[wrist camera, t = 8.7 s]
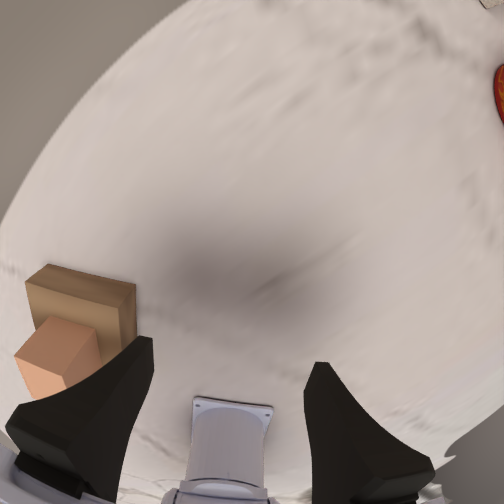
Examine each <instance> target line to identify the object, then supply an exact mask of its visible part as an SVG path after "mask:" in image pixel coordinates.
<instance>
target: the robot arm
mask: <svg viewBox="0 0 504 504" xmlns="http://www.w3.org/2000/svg"><path fill="white" fill-rule="evenodd" d="M153 373H154V359H153V340H152V338H149V337H145V336H140V335H139V336H138V337H137V338H135V339H134V340H133V341H132V342H131V343H130V344H129V345H128V346H127V347H126V348H124V349H123V350H122V351H121V352H120V353H119V354H118V355H116V356H115V357H114V358H113V359H112V360H110V361H109V362H108V363H107V364H105V365H104V366H103V367H101V368H100V369H99V370H97V371H96V372H94V373H93V374H92V375H90V376H89V377H87V378H85V379H84V380H82V381H80V382H79V383H77V384H75V385H73V386H71V387H69V388H67V389H65V390H63V391H61V392H59V393H56V394H54V395H51V396H48V397H45V398H42V399H39V400H36V401H32V402H28V403H24V404H19V405H18V407H17V408H16V409H15V411H14V412H13V414H12V415H11V417H10V419H9V420H8V422H7V423H6V425H5V428H6V431H7V433H8V435H9V436H10V438H11V439H12V440H13V442H14V443H15V444H16V445H17V447H18V448H19V449H20V453H19V455H17V454H15V453H14V452H13V451H12V450H10V449H8V448H7V447H6V446H4V445H2V444H1V443H0V502H2V503H3V504H116V499H117V492H118V486H119V480H120V475H121V470H122V465H123V461H124V457H125V453H126V449H127V445H128V441H129V437H130V434H131V431H132V428H133V426H134V423H135V421H136V419H137V416H138V414H139V411H140V409H141V407H142V404H143V402H144V400H145V397H146V395H147V393H148V390H149V387H150V384H151V380H152V377H153ZM273 413H274V409H273V408H272V407H266V406H256V405H247V404H239V403H232V402H225V401H218V400H212V399H206V398H200V397H196V398H194V401H193V415H192V433H191V443H192V444H191V449H190V455H189V460H188V465H187V471H186V476H185V481H183V480H181V482H180V488H179V489H176V488H172V489H171V490H170V491H168V492H167V493H165V495H164V497H163V499H162V502H161V504H280V503H279V502H278V501H276V499H275V498H273V497H269V498H267V488H264V436H265V433H266V431H267V428H268V425H269V423H270V420H271V418H272V415H273ZM304 413H305V419H306V425H307V431H308V437H309V442H310V448H311V456H312V504H416V500H418V499H419V496H418V491H419V490H421V489H422V488H423V487H425V486H426V485H427V484H428V483H429V482H430V481H431V480H432V479H433V478H434V477H435V470H434V467H433V465H432V462H431V460H430V458H429V457H428V456H426V455H424V454H422V453H420V452H418V451H416V450H414V449H412V448H410V447H409V446H407V445H406V444H404V443H403V442H401V441H400V440H398V439H397V438H395V437H394V436H393V435H391V434H390V433H389V432H388V431H386V430H385V429H384V428H383V427H381V426H380V425H379V424H378V423H377V422H376V421H375V420H374V419H373V418H372V417H371V416H370V415H369V414H368V413H367V412H366V411H365V410H364V409H363V408H362V406H361V405H360V404H359V403H358V402H357V401H356V399H355V398H354V397H353V396H352V394H351V393H350V392H349V391H348V389H347V388H346V386H345V385H344V384H343V382H342V381H341V380H340V378H339V377H338V375H337V374H336V372H335V371H334V370H333V368H332V367H331V365H330V364H329V363H328V362H315V364H314V367H313V369H312V372H311V374H310V377H309V379H308V382H307V384H306V387H305V389H304ZM421 504H445V501H444V498H443V497H439V498H436V499H433V500H430V501H426V502H424V503H421Z"/></svg>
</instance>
